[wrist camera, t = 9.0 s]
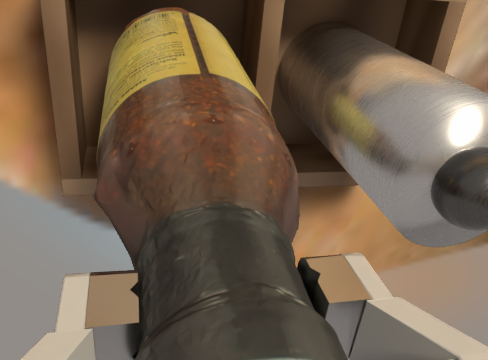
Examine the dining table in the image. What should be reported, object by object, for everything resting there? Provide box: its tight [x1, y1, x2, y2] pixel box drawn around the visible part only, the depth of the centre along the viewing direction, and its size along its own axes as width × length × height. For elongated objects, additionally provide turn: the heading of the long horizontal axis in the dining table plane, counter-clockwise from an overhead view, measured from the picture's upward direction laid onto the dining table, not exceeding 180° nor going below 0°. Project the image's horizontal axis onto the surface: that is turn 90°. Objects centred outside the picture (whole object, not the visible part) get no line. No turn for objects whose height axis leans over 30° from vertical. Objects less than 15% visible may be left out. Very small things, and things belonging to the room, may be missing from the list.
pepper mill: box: [278, 22, 488, 247], centre depth 22 cm, size 6×6×16 cm
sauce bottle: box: [94, 7, 348, 360], centre depth 16 cm, size 6×6×20 cm
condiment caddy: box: [40, 0, 467, 196], centre depth 26 cm, size 21×12×5 cm, turn 85°
